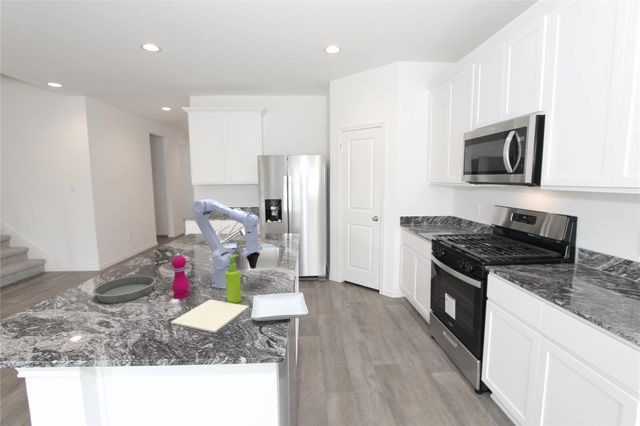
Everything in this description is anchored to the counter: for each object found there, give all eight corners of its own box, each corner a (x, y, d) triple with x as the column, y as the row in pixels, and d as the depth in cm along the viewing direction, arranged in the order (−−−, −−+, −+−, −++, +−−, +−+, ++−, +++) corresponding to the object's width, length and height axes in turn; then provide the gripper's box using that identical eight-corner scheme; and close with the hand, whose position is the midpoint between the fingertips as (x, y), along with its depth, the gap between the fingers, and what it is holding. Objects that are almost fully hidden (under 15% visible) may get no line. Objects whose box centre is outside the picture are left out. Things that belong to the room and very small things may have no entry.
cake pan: (81, 299, 136) (80, 289, 135) (135, 281, 158) (134, 272, 157) (115, 309, 125) (114, 299, 125) (167, 288, 147) (167, 279, 146)
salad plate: (302, 298, 134) (302, 290, 134) (309, 321, 113) (309, 312, 113) (253, 302, 131) (253, 294, 130) (251, 326, 110) (250, 317, 109)
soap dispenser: (245, 298, 134) (243, 254, 132) (235, 304, 128) (233, 258, 125) (233, 296, 136) (231, 253, 133) (224, 302, 130) (221, 257, 127)
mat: (170, 323, 112) (170, 321, 112) (209, 300, 132) (209, 299, 132) (214, 332, 105) (214, 331, 105) (249, 307, 125) (249, 306, 125)
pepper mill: (193, 294, 139) (190, 251, 136) (180, 300, 133) (177, 255, 130) (182, 291, 142) (179, 250, 139) (168, 297, 136) (165, 254, 133)
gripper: (250, 244, 135) (251, 273, 136) (267, 237, 148) (268, 264, 150) (237, 243, 137) (238, 272, 139) (254, 236, 150) (255, 263, 152)
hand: (253, 268), depth 145 cm, fingers closed
